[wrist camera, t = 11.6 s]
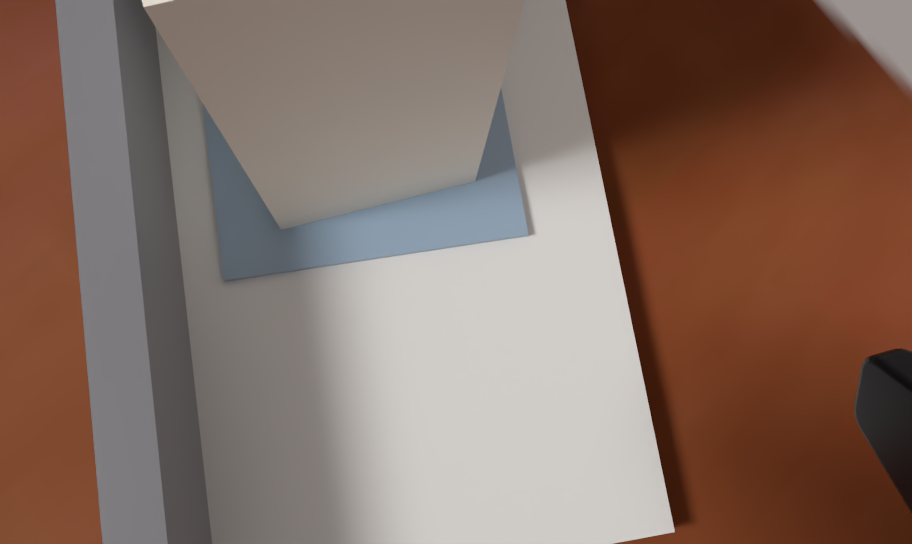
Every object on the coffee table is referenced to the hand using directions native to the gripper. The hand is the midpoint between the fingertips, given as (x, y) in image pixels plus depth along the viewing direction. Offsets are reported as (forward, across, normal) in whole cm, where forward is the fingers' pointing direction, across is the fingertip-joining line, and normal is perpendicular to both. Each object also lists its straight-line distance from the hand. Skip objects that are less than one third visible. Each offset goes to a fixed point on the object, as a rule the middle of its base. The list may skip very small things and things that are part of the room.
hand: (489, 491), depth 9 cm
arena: (+12, 0, +4) cm, 13 cm away
